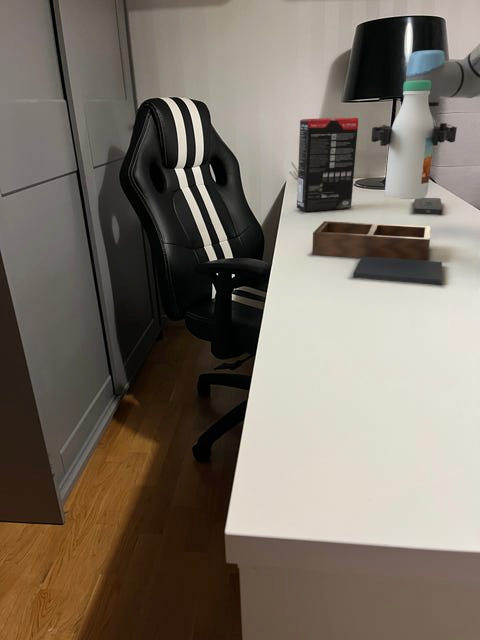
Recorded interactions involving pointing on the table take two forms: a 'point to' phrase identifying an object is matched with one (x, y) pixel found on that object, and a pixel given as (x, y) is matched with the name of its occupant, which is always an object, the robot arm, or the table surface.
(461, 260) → the table surface
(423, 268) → the mat
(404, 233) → the wooden compartment tray
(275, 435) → the table surface
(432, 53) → the robot arm
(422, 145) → the milk bottle
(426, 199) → the smart home device
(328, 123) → the graphics card box
